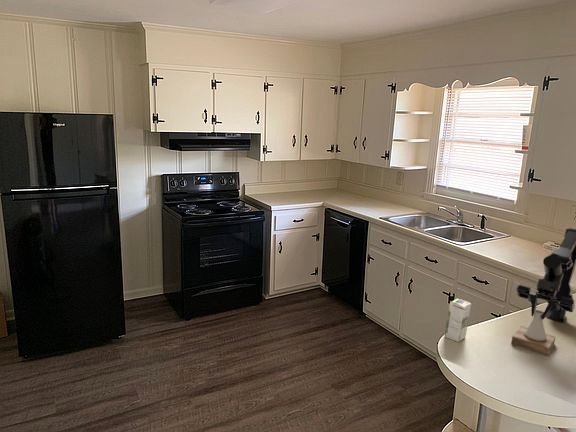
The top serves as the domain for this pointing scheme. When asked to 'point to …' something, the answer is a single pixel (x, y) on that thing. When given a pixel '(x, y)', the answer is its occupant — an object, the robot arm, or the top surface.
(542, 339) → the flask
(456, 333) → the syrup box
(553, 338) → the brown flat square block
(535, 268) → the top surface
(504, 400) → the top surface
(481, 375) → the top surface
